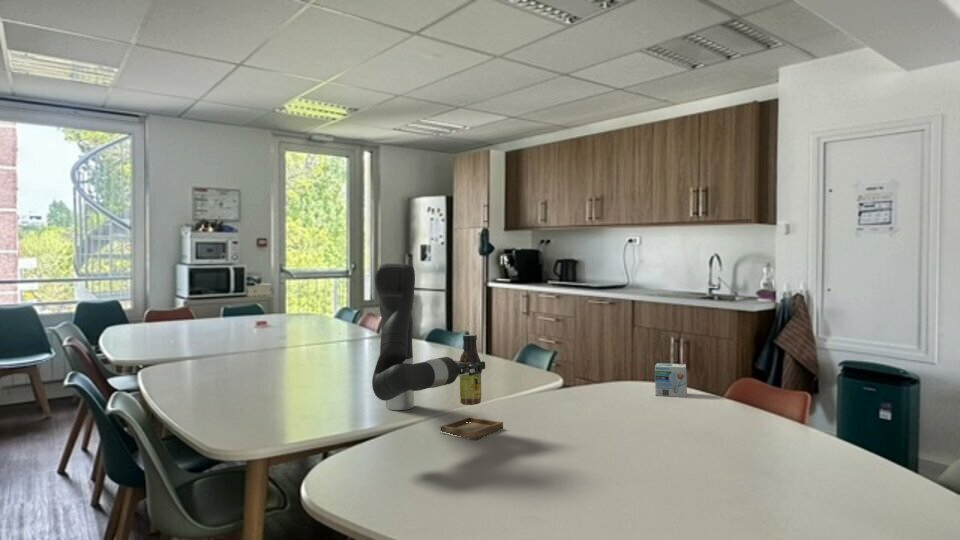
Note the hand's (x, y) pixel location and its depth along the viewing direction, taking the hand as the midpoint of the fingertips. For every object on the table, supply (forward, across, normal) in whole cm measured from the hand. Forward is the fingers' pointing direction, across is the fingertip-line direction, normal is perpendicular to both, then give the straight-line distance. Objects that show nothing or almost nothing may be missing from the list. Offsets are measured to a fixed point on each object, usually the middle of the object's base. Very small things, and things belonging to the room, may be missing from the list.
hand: (474, 364), depth 163 cm
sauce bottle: (-2, 0, +11) cm, 11 cm away
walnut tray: (-2, 0, +19) cm, 19 cm away
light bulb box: (+72, -33, +19) cm, 82 cm away
